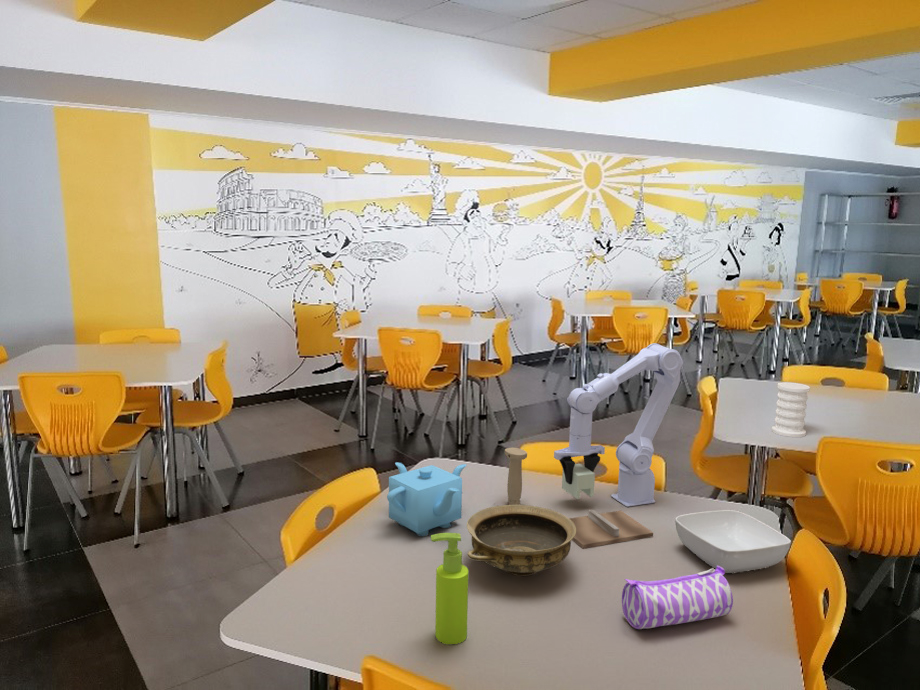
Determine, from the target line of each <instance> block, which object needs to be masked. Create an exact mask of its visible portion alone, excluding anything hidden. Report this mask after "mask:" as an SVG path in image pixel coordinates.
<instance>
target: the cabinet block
mask: <svg viewBox="0 0 920 690" xmlns="http://www.w3.org/2000/svg"><path fill="white" fill-rule="evenodd" d="M561 475H562V478H561V489H562V490H563V491H565V492H567V493H568V494H569V495H571V496H572V497H574V498H575V499H576V500H579V499H581V492H583V493H584V494H585V495H586V496H589V497H590V498H592V497H594V495H595V484H596V482H595V481H596V473H595V472H592V471H590V470H589V469H587V468H586V467H584V465H582V464H581V463H575V465H574V469H573V479H572V484H568V483H567V482H566V479H565V474H564V471H563V470H562V474H561Z"/></svg>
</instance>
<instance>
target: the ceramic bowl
mask: <svg viewBox="0 0 920 690" xmlns="http://www.w3.org/2000/svg"><path fill="white" fill-rule="evenodd" d="M466 529H467V531H468V533H469V535H471V546H472V550H471V549H470V550H469V551H468V552H467V557H468V558H469V559H470V560H473V561H480V562H481V561H483V562H484V563H486V564H488V565H490V566H492V567H494V568H496V569H500V570H503V571H505V572H507V573H508V574H511V575H515V576H518V577H519V576H523V577H524V576H532V575H534V574H536V573H538V572H541V571H546V570H548V569H551V568H553V567H555V566H558V565H559V564H560V563H562V562H563V561H564V560H565V559H566V558H567V556H568V555H569V554H570V550H571V546H572V545H571V544H572V541H573V540H572V539H573V538H574V536H575V534H576V527H575V525H574V523H573V522H572V521H571V520H570V519H569V517H568V516H566V515H564V514H562V513H561V512H558V511H555V510H553V509H549V508H546V507H541V506H537V505H536V506H534V505H528V504H527V505H526V504H519V505H510V504H503V505H495V506H490V507H487V508H483V509H481V510H479V511H477V512H475V513H473V514H472V515H471V516H470V517H469V518H468V520H467V522H466ZM475 554H476V555H475Z"/></svg>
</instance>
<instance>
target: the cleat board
mask: <svg viewBox="0 0 920 690" xmlns="http://www.w3.org/2000/svg"><path fill="white" fill-rule="evenodd" d="M568 518H569V517H568ZM569 519H570V520H571V521H572V522H573V523H574V525H575V527H576V534H575V536H574V538H573V539H572V540H571V541H573V543H575V544H576V545H578V546H579V547H580V548H581V549H583V550H584V549H588V548H596V547H600V546H605V545H612V544H618V543H623V542H628V541H635V540H641V539H646V538H651V537H654V532H653V531H652V530H650V529H649V528H647V527H646V526H644V525H643V524H641V522H638V520H635V519H634V518H633V517H632V516H629V515H628V514H627V513H625V512H624V511H622V510H615V511H609V512H608V511H607V512H601V513H599V512H597V511H595V510H594V509H592V508H591V509H588V513H587V515H584V516H583V515H582V516H576V517H570V518H569Z"/></svg>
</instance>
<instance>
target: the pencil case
mask: <svg viewBox="0 0 920 690" xmlns="http://www.w3.org/2000/svg"><path fill="white" fill-rule="evenodd" d="M724 575H726V574H725V570H724V569H723V568H722V567H720V566H718V565H717V569H714V568H713V567H711V568H710V569H708V570H704V571H701V572H697V573H694V574H689V575H681V576H677V577H673V578H667V579H665V578H664V579H658V580H647V581H646V580H635V579H627V578H624V580H625V582H626V583H625V584H624V586H623V588H622V592H621V606H622V607H621V609H622V613H623V615H624V617H625V619H626V621H627V622H628V624H629V625H630V626H631V627H632V628H634V629H636V630H642V629H643V630H644V629H652V628H658V627H665V626H671V625H678V624H685V623H692V622H696V621H703V620H707V619H714V618H718V617H722V616H725V615H728V614H729V613H730V612H731V611H732V608H733V604H734V597H733V596H734V595H733V592H732V589H731V587H730V584H729V581H728V580H727V579H726V577H725V576H724Z"/></svg>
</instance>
